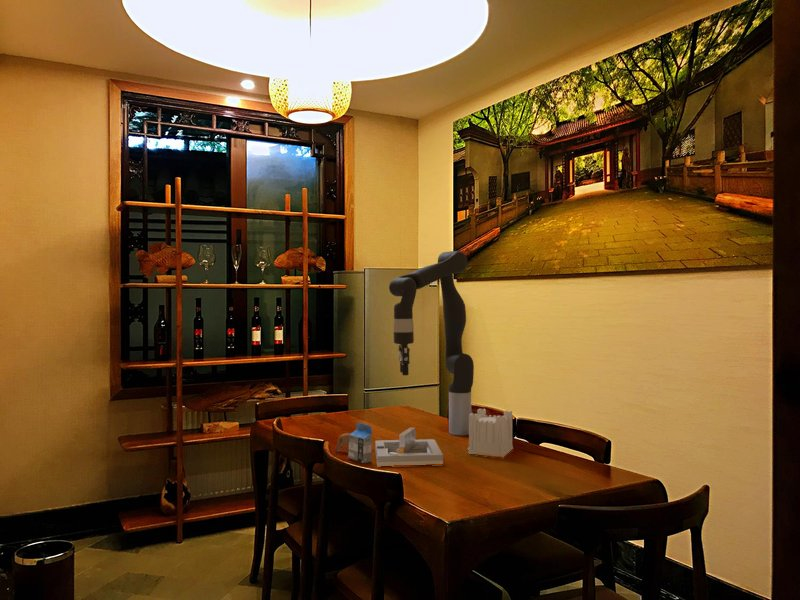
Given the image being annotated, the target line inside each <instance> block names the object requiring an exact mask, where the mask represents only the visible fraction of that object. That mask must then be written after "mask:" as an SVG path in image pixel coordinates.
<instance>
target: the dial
mask: <svg viewBox="0 0 800 600" xmlns="http://www.w3.org/2000/svg"><path fill="white" fill-rule="evenodd" d="M398 435H399V436H398V437H399V439H398V440H399V444H395V445H391V446H389V447H388V454H389V453H390V452H394V453H427V447H426V446H424V445H420V444H415V440H416V427H409V428H407V429H406V430H404V431H402V432H401V433H400V434H398Z"/></svg>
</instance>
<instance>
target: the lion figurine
mask: <svg viewBox="0 0 800 600" xmlns="http://www.w3.org/2000/svg"><path fill="white" fill-rule="evenodd" d="M362 429H366V430H367V428H365V427H362ZM349 434H350V433H343V434H341V435H339V437H338V439H337V443H336V449H335V450H334V453H337V452H338V453H339V452H341V449H339V448H340V447H342V446H343V450H344V452H345V453H346V454H349V450H348V449H347V447H348V446H349Z"/></svg>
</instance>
